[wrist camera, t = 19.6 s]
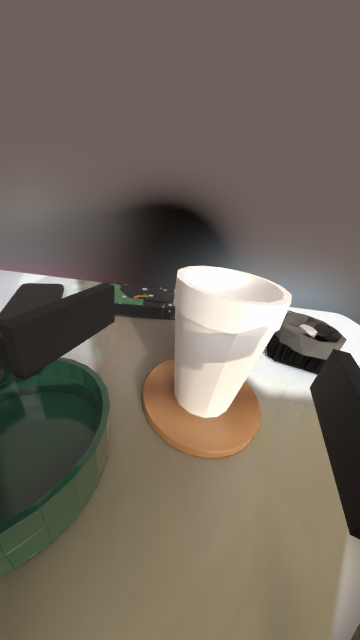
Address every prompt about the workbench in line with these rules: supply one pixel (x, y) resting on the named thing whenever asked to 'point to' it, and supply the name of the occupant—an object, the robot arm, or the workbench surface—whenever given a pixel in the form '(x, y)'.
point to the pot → (48, 454)
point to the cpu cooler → (304, 342)
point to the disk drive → (143, 301)
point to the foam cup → (221, 333)
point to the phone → (31, 298)
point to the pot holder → (198, 418)
